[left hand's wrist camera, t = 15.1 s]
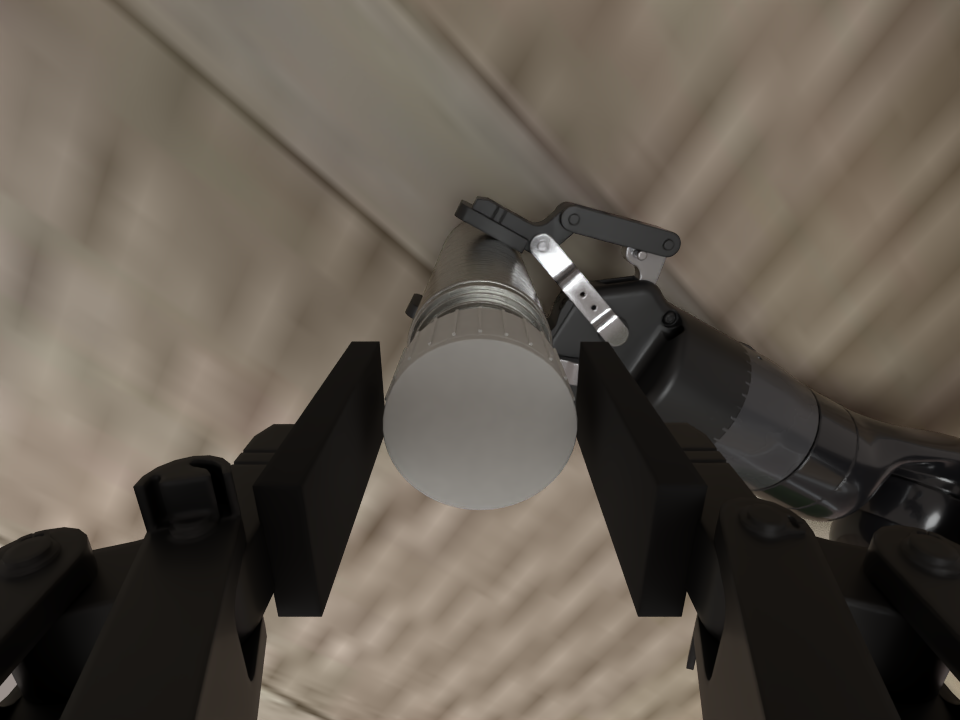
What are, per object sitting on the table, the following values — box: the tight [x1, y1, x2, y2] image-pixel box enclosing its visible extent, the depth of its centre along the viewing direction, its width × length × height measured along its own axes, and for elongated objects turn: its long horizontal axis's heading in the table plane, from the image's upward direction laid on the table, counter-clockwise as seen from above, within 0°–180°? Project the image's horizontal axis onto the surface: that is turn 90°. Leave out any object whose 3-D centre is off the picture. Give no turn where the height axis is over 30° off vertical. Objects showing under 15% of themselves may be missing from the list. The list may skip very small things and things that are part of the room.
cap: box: [383, 307, 577, 510], centre depth 13 cm, size 5×5×3 cm
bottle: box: [407, 222, 553, 348], centre depth 22 cm, size 5×5×21 cm
